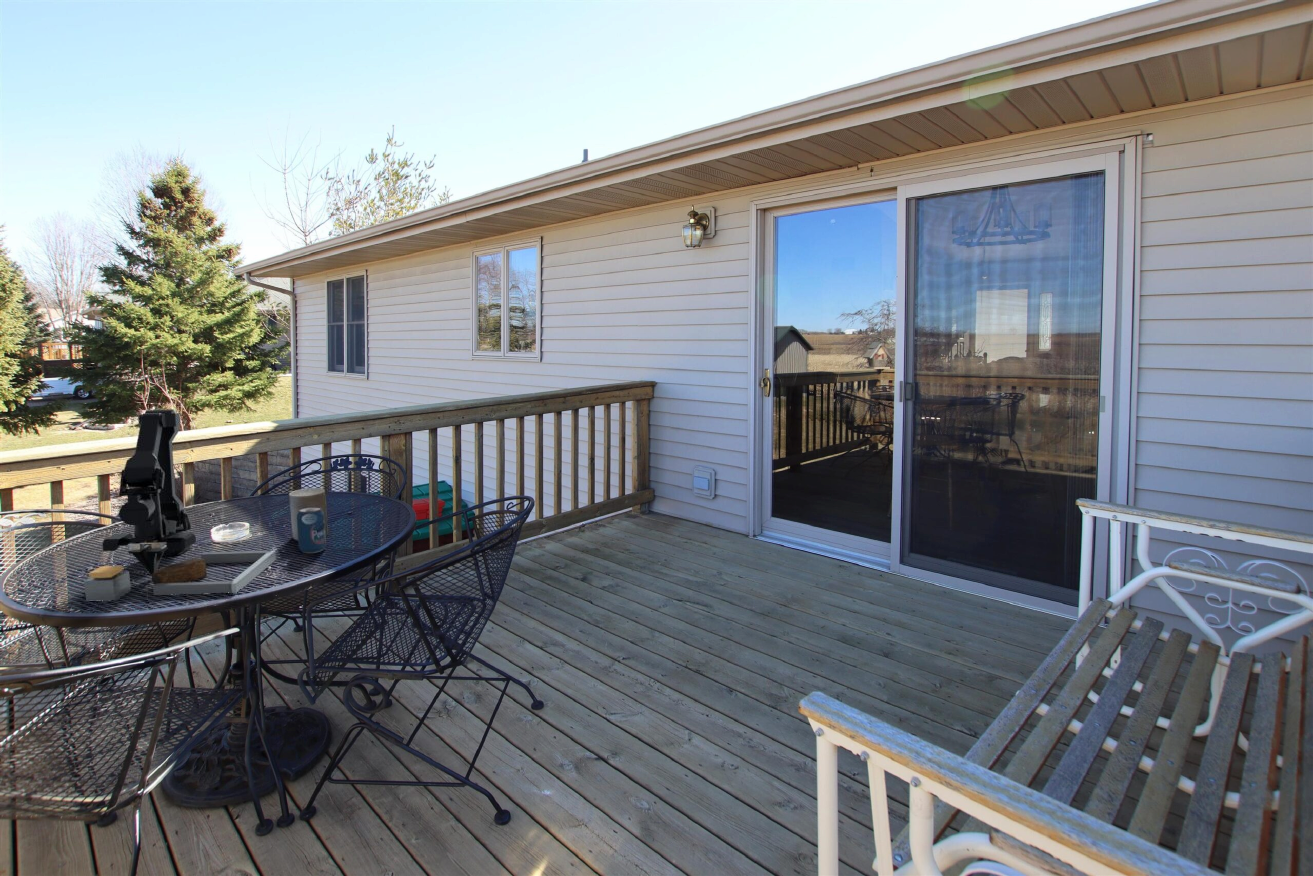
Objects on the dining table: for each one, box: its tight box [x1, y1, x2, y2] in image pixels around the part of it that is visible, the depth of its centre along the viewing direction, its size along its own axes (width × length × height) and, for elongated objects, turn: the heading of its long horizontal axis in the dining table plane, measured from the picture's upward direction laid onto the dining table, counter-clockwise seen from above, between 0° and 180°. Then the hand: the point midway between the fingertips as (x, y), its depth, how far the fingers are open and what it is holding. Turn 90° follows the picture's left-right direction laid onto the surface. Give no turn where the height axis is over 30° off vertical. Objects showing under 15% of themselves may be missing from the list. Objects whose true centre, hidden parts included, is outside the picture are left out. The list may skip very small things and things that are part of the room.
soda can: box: [297, 506, 327, 554], centre depth 195 cm, size 7×7×12 cm
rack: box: [152, 550, 277, 596], centre depth 175 cm, size 24×18×2 cm
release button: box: [88, 565, 124, 579], centre depth 161 cm, size 4×4×5 cm
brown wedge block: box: [150, 557, 208, 586], centre depth 171 cm, size 11×4×5 cm, turn 152°
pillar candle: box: [288, 487, 329, 541], centre depth 206 cm, size 10×10×15 cm
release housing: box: [83, 570, 132, 602], centre depth 161 cm, size 6×6×5 cm
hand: (153, 574), depth 173 cm, fingers closed
